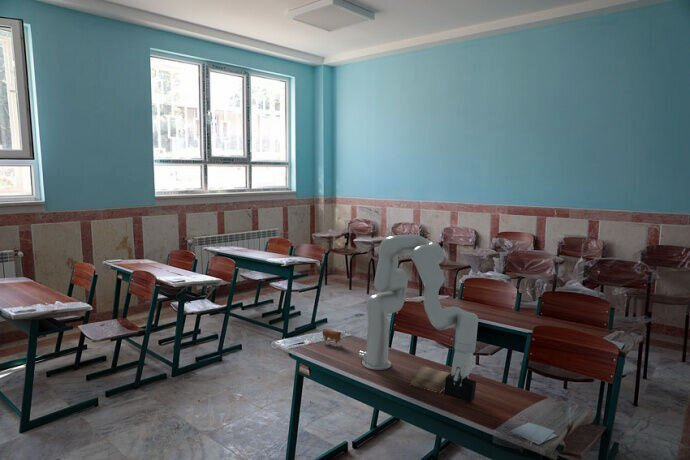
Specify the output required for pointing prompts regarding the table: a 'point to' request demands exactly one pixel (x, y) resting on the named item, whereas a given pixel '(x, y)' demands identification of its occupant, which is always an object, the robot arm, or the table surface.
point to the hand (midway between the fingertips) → (460, 392)
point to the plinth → (429, 379)
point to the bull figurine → (333, 336)
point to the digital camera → (467, 391)
